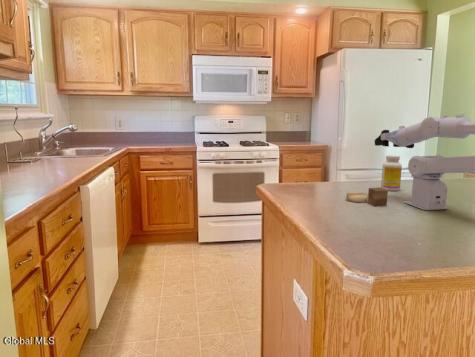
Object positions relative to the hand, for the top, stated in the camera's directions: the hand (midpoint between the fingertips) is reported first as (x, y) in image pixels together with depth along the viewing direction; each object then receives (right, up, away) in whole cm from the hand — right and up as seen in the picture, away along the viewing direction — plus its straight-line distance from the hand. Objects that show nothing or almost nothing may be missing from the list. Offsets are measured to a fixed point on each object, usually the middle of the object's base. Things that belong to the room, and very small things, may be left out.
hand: (384, 143), depth 125 cm
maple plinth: (-13, -20, -10) cm, 26 cm away
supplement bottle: (+6, -17, +8) cm, 20 cm away
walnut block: (-9, -21, -15) cm, 27 cm away
